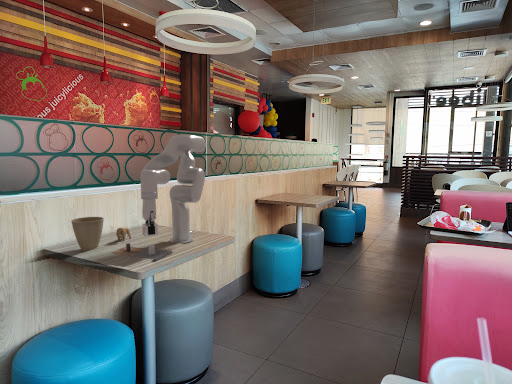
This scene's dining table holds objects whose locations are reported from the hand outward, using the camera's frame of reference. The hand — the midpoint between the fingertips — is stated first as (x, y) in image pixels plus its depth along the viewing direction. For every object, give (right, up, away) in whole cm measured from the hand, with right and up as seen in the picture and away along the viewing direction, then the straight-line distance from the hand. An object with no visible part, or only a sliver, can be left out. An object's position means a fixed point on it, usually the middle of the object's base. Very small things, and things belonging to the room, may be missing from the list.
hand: (150, 232), depth 166 cm
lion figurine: (-23, -8, +29) cm, 38 cm away
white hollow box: (0, -1, 0) cm, 1 cm away
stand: (-13, -11, +7) cm, 18 cm away
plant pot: (-35, -10, +13) cm, 39 cm away
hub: (0, -11, +2) cm, 11 cm away
